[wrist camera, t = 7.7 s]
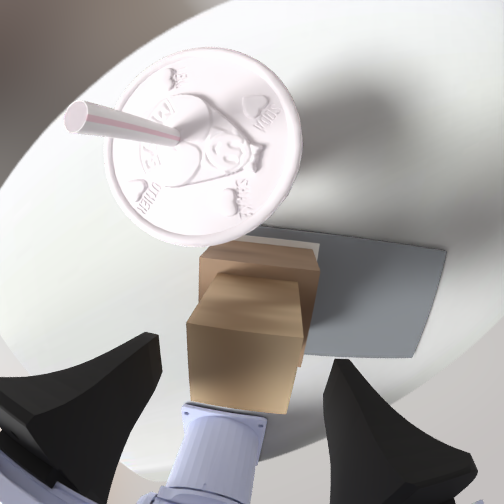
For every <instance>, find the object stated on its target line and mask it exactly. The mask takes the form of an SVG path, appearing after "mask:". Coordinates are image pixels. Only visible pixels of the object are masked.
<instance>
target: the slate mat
mask: <svg viewBox="0 0 504 504" xmlns="http://www.w3.org/2000/svg"><path fill="white" fill-rule="evenodd" d="M235 241H244V242H253V243H262V244H271V245H280V246H288V247H297V248H306V249H313V252H314V255H315V257H316V260H317V263H318V266H319V268H320V276H319V282H318V288H317V293H316V298H315V304H314V309H313V314H312V319H311V323H310V328H309V333H308V337H307V342H306V346H305V351H304V354H306V355H319V356H335V357H358V358H412V357H413V355H414V352H415V350H416V347H417V345H418V342H419V340H420V337H421V335H422V332H423V329H424V327H425V324H426V321H427V318H428V316H429V313H430V310H431V307H432V304H433V301H434V297H435V294H436V291H437V288H438V284H439V281H440V277H441V273H442V270H443V266H444V262H445V258H446V253H447V252H446V251H445V250H440V249H433V248H427V247H420V246H414V245H407V244H400V243H393V242H386V241H379V240H372V239H364V238H357V237H349V236H342V235H334V234H326V233H318V232H309V231H301V230H292V229H284V228H275V227H266V226H258V227H256V228H255V229H254V230H252V231H250V232H249V233H247V234H245V235H243V236H241V237H239V238H237V239H235Z"/></svg>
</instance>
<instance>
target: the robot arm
mask: <svg viewBox="0 0 504 504" xmlns="http://www.w3.org/2000/svg"><path fill="white" fill-rule="evenodd" d="M161 374H162V364H161V355H160V345H159V335H157V334H153V333H148V332H144V333H142V334H140V335H138V336H137V337H135V338H133V339H131V340H129V341H127V342H126V343H124V344H122V345H120V346H118V347H116V348H115V349H113V350H111V351H109V352H107V353H105V354H103V355H100V356H98V357H96V358H94V359H92V360H90V361H87V362H85V363H82V364H80V365H77V366H74V367H71V368H68V369H65V370H60V371H56V372H52V373H48V374H43V375H37V376H28V377H0V428H1V429H2V431H1V432H0V503H1V504H107V500H108V495H109V492H110V488H111V484H112V480H113V477H114V474H115V471H116V467H117V465H118V462H119V459H120V457H121V454H122V451H123V449H124V446H125V444H126V442H127V439H128V437H129V434H130V432H131V430H132V429H133V427H134V425H135V423H136V421H137V420H138V418H139V416H140V415H141V413H142V411H143V410H144V408H145V406H146V405H147V403H148V401H149V400H150V398H151V396H152V394H153V393H154V391H155V389H156V386H157V384H158V382H159V379H160V377H161ZM181 410H182V418H183V425H184V433H185V436H184V438H183V441H182V444H181V446H180V449H179V452H178V454H177V457H176V460H175V462H174V465H173V467H172V470H171V473H170V475H169V478H168V481H167V483H166V486H161V487H160V490H159V492H158V494H157V493H154V492H149V493H148V494H145V495H143V496H141V497H140V498H139V500H138V501H137V503H136V504H250V501H251V495H252V488H253V480H254V473H255V466H257V465H258V461H259V456H260V452H261V448H262V443H263V439H264V434H265V430H266V425H267V419H266V418H264V417H257V416H249V415H242V414H235V413H229V412H223V411H217V410H212V409H207V408H201V407H197V406H192V405H187V404H184V405H183V406H182V408H181ZM323 410H324V421H325V427H326V434H327V440H328V447H329V454H330V463H331V491H330V492H331V493H330V504H455V500H454V497H455V496H456V495H458V494H459V493H460V492H461V491H462V490H463V489H465V488H466V487H467V486H468V485H469V484H470V483H471V482H472V481H473V480H474V479H475V477H476V475H477V473H478V470H477V468H476V465H475V463H474V461H473V459H472V456H471V455H470V453H467V452H464V451H462V450H459V449H456V448H454V447H451V446H449V445H447V444H445V443H443V442H440V441H438V440H437V439H434V438H433V437H431V436H429V435H428V434H426V433H425V432H423V431H421V430H420V429H418V428H417V427H415V426H414V425H413V424H411V423H410V422H408V421H407V420H406V419H405V418H403V417H402V416H401V415H400V414H399V413H397V412H396V411H395V410H394V409H393V408H392V407H391V406H390V405H389V404H388V403H387V402H386V401H385V400H384V399H383V398H382V397H381V396H380V395H379V394H378V393H377V392H376V391H375V390H374V389H373V387H372V386H371V385H370V384H369V383H368V382H367V380H366V379H365V378H364V377H363V376H362V374H361V373H360V372H359V371H358V370H357V368H356V367H355V366H354V365H353V363H352V362H351V361H350V360H349V359H334V363H333V366H332V369H331V372H330V375H329V378H328V382H327V385H326V388H325V391H324V393H323ZM260 424H261V425H260ZM473 504H484V502H483V500H479V501H477V502H475V503H473Z"/></svg>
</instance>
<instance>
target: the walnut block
mask: <svg viewBox="0 0 504 504" xmlns="http://www.w3.org/2000/svg"><path fill="white" fill-rule="evenodd" d="M217 273H222V274H231V275H239V276H248V277H257V278H265V279H275V280H284V281H294V282H298V288H299V297H300V306H301V316H302V326H303V336H304V338H303V343H302V348H301V353H300V357H299V362H298V367H301V364H302V360H303V355H304V351H305V346H306V342H307V337H308V333H309V328H310V323H311V319H312V314H313V309H314V304H315V298H316V293H317V288H318V282H319V276H320V268H319V266H318V263H317V260H316V257H315V255H314V252H313V249H306V248H297V247H288V246H280V245H271V244H262V243H253V242H244V241H235V240H232V241H229V242H226V243H223V244H219V245H214V246H210V247H209V248H208V249H207V250H206V251H205V252H204V253H203V254H202V255H201V256H200V258H199V302H200V300H201V298H202V297H203V295H204V294H205V292H206V291H207V289H208V287H209V286H210V284H211V283H212V281H213V280H214V278H215V276H216V275H217Z"/></svg>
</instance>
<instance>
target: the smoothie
mask: <svg viewBox="0 0 504 504" xmlns="http://www.w3.org/2000/svg"><path fill="white" fill-rule="evenodd" d="M64 127H65V129H66V131H67V132H69V133H73V134H83V135H92V136H101V137H105V142H104V164H105V170H106V175H107V179H108V182H109V185H110V188H111V191H112V193H113V195H114V197H115V199H116V201H117V202H118V204H119V206H120V207H121V209H122V210H123V211H124V213H125V214H126V215H127V216H128V217H129V218H130V219H131V220H132V221H133V222H134V223H135V224H136V225H137V226H138V227H140V228H141V229H142V230H143V231H145V232H147V233H148V234H150V235H151V236H153V237H155V238H158V239H160V240H162V241H165V242H168V243H171V244H175V245H180V246H186V247H207V246H214V245H219V244H223V243H226V242H229V241H232V240H235V239H237V238H239V237H241V236H243V235H245V234H247V233H249V232H250V231H252V230H254V229H255V228H256V227H258V226H259V225H260V224H262V223H263V222H264V221H265V220H266V219H268V218H269V217H270V216H271V215H272V214H273V213H274V212H275V211H276V209H277V208H278V207H279V206H280V205H281V203H282V202H283V201H284V200H285V198H286V197H287V196H288V194H289V192H290V190H291V188H292V186H293V183H294V181H295V179H296V177H297V174H298V172H299V168H300V162H301V155H302V149H303V140H302V129H301V123H300V118H299V114H298V111H297V108H296V105H295V103H294V100H293V98H292V96H291V94H290V93H289V91H288V89H287V88H286V86H285V85H284V84H283V82H282V81H281V80H280V79H279V78H278V76H277V75H276V74H275V73H274V72H273V71H271V70H270V69H269V68H268V67H267V66H265V65H264V64H263V63H261V62H260V61H258V60H256V59H254V58H253V57H251V56H248V55H246V54H244V53H241V52H238V51H234V50H231V49H225V48H218V47H200V48H192V49H187V50H183V51H180V52H176V53H173V54H171V55H169V56H166V57H164V58H162V59H160V60H159V61H157V62H155V63H154V64H152V65H151V66H149V67H148V68H146V69H145V70H144V71H143V72H141V73H140V74H139V75H138V76H137V77H136V78H135V79H134V80H133V81H132V82H131V83H130V84H129V86H128V87H127V88H126V89H125V91H124V92H123V93H122V95H121V97H120V98H119V100H118V102H117V103H116V105H115V107H114V109H112V108H108V107H105V106H101V105H98V104H94V103H90V102H86V101H83V100H77V101H75V102H73V103H72V104H71V105H70V106H69V107H68V109H67V111H66V113H65V116H64Z"/></svg>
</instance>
